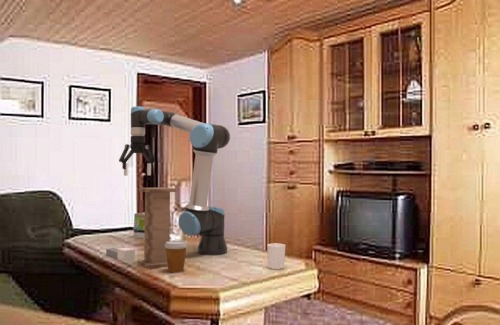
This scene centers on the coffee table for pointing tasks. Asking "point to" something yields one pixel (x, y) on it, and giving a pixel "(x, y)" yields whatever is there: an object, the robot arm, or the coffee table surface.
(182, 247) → the disposable coffee cup
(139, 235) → the tea box
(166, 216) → the walnut stand
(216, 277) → the coffee table surface
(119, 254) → the block
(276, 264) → the white cup
